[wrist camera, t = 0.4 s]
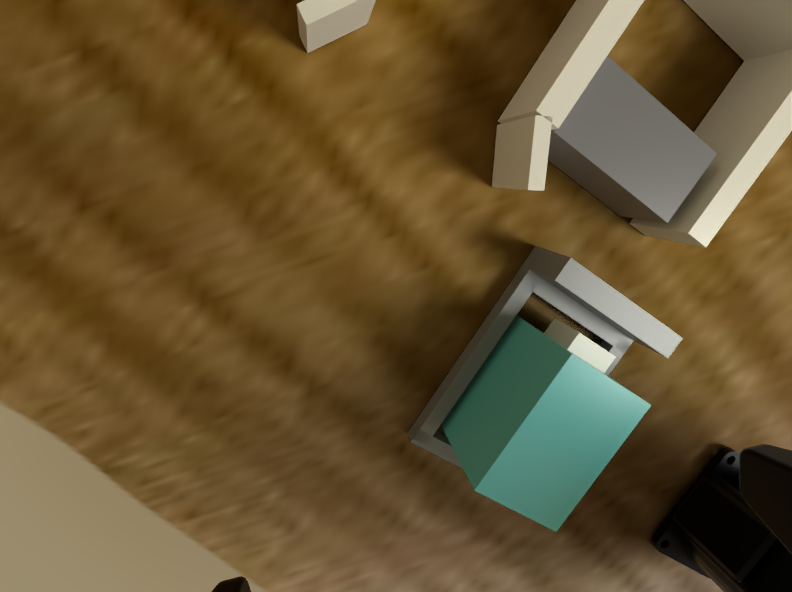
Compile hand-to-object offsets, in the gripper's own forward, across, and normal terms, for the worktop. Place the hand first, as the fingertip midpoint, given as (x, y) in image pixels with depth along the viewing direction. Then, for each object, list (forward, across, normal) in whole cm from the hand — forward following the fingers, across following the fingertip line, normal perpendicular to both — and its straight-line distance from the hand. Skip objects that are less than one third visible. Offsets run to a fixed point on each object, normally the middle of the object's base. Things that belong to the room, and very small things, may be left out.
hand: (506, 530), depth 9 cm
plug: (+13, -4, +4) cm, 14 cm away
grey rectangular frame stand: (+13, -4, +4) cm, 14 cm away
